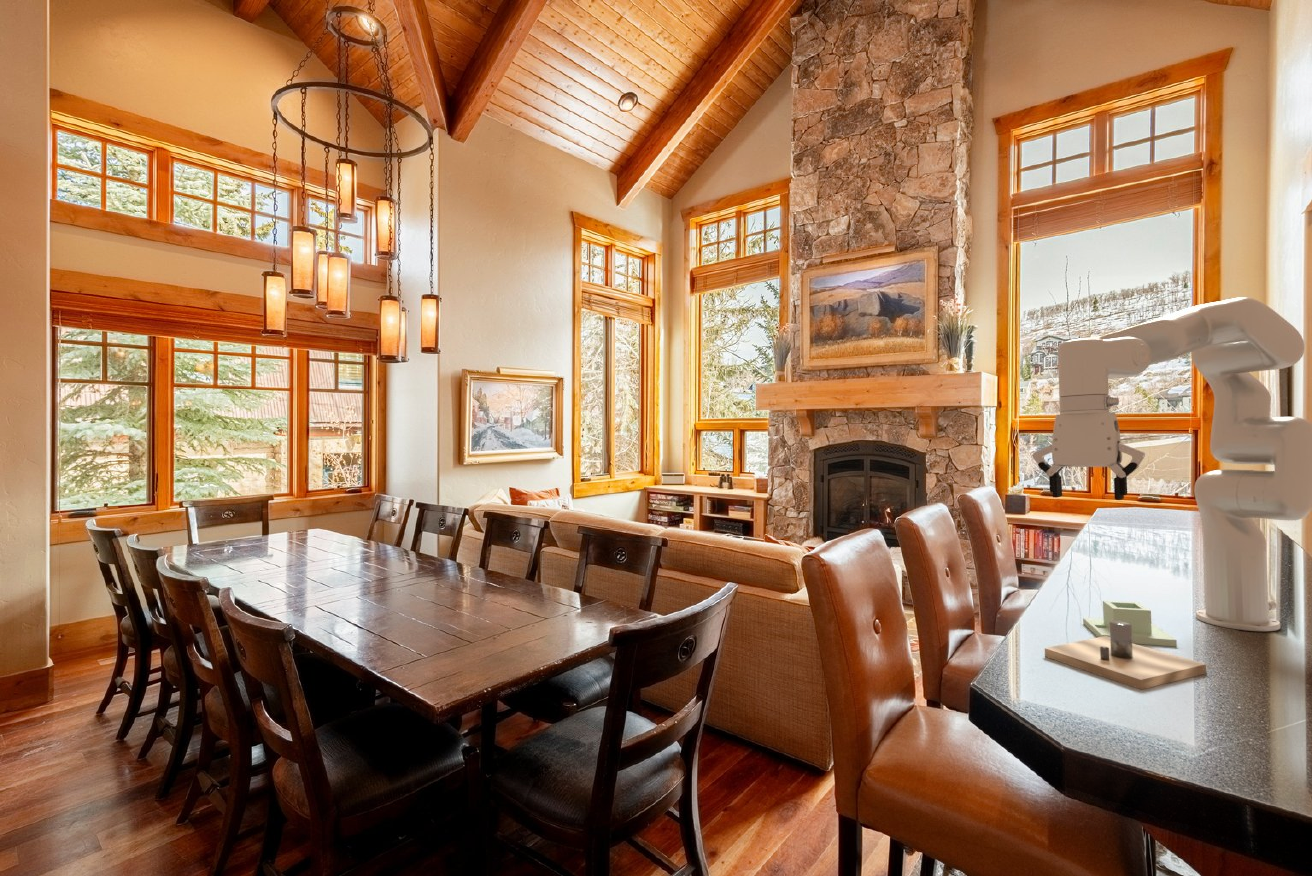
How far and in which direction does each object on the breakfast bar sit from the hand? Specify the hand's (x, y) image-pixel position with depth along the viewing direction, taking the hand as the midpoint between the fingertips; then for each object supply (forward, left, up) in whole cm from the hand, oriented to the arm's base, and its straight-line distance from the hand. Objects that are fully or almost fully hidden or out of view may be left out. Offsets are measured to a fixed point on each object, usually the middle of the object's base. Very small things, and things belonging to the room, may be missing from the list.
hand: (1087, 498), depth 112 cm
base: (+3, +7, -28) cm, 29 cm away
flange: (-14, -3, -28) cm, 32 cm away
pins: (+5, +7, -27) cm, 28 cm away
